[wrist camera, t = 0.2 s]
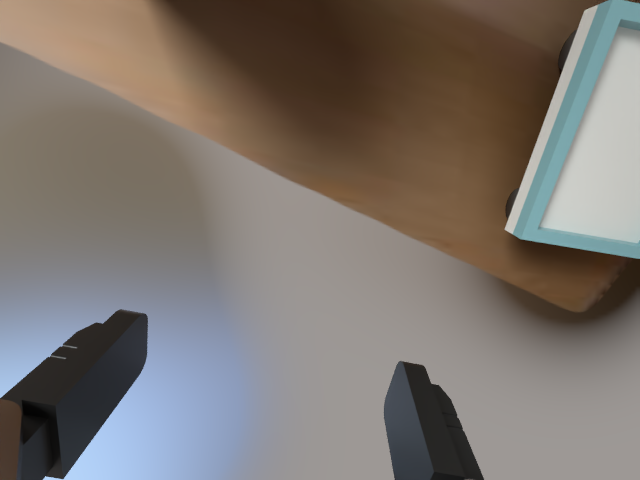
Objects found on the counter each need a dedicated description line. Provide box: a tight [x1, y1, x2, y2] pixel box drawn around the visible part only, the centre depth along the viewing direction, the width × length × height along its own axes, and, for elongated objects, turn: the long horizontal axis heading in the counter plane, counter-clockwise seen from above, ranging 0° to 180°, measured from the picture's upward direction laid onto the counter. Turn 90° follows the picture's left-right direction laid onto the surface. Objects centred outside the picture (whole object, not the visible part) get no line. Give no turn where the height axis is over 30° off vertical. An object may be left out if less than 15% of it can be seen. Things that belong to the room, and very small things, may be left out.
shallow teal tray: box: [505, 0, 640, 259], centre depth 33 cm, size 20×14×6 cm
